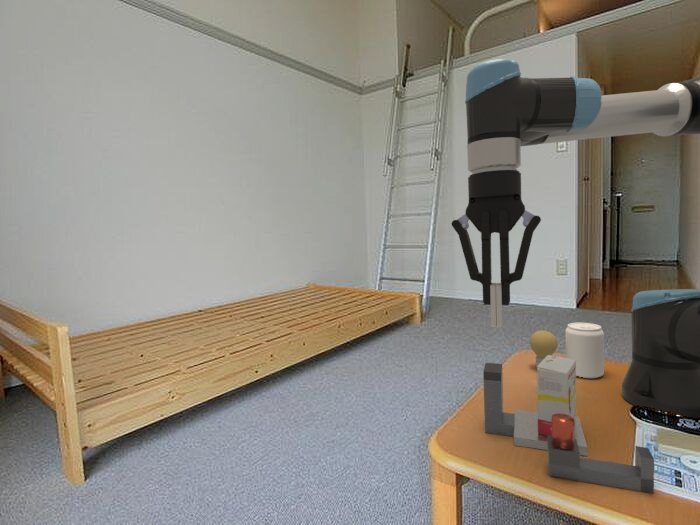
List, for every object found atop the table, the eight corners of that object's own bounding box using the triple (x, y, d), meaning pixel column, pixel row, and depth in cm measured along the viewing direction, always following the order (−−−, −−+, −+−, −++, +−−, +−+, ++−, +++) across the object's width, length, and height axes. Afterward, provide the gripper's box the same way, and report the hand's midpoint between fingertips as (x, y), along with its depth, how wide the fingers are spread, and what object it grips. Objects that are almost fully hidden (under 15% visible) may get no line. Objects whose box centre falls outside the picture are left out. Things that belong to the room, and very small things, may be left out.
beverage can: (564, 366, 106) (563, 321, 105) (600, 369, 103) (600, 322, 102) (567, 378, 98) (567, 329, 97) (606, 381, 95) (606, 330, 94)
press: (578, 424, 76) (578, 364, 75) (587, 456, 66) (587, 387, 65) (488, 413, 82) (486, 357, 81) (483, 440, 72) (482, 377, 71)
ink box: (568, 442, 68) (567, 372, 67) (536, 434, 71) (535, 367, 70) (577, 421, 74) (577, 358, 73) (547, 414, 77) (547, 353, 76)
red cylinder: (576, 454, 63) (576, 413, 62) (579, 468, 59) (579, 426, 59) (547, 449, 64) (547, 410, 64) (549, 463, 61) (548, 422, 60)
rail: (647, 480, 59) (647, 447, 59) (653, 493, 56) (654, 458, 56) (547, 464, 64) (547, 434, 64) (549, 475, 61) (548, 444, 61)
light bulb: (557, 366, 106) (557, 328, 105) (557, 374, 101) (557, 335, 100) (531, 363, 109) (530, 327, 108) (529, 371, 104) (528, 333, 103)
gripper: (540, 170, 63) (542, 321, 65) (453, 178, 68) (457, 318, 70) (543, 164, 56) (544, 333, 58) (445, 173, 61) (450, 329, 63)
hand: (497, 325), depth 64 cm, fingers closed
